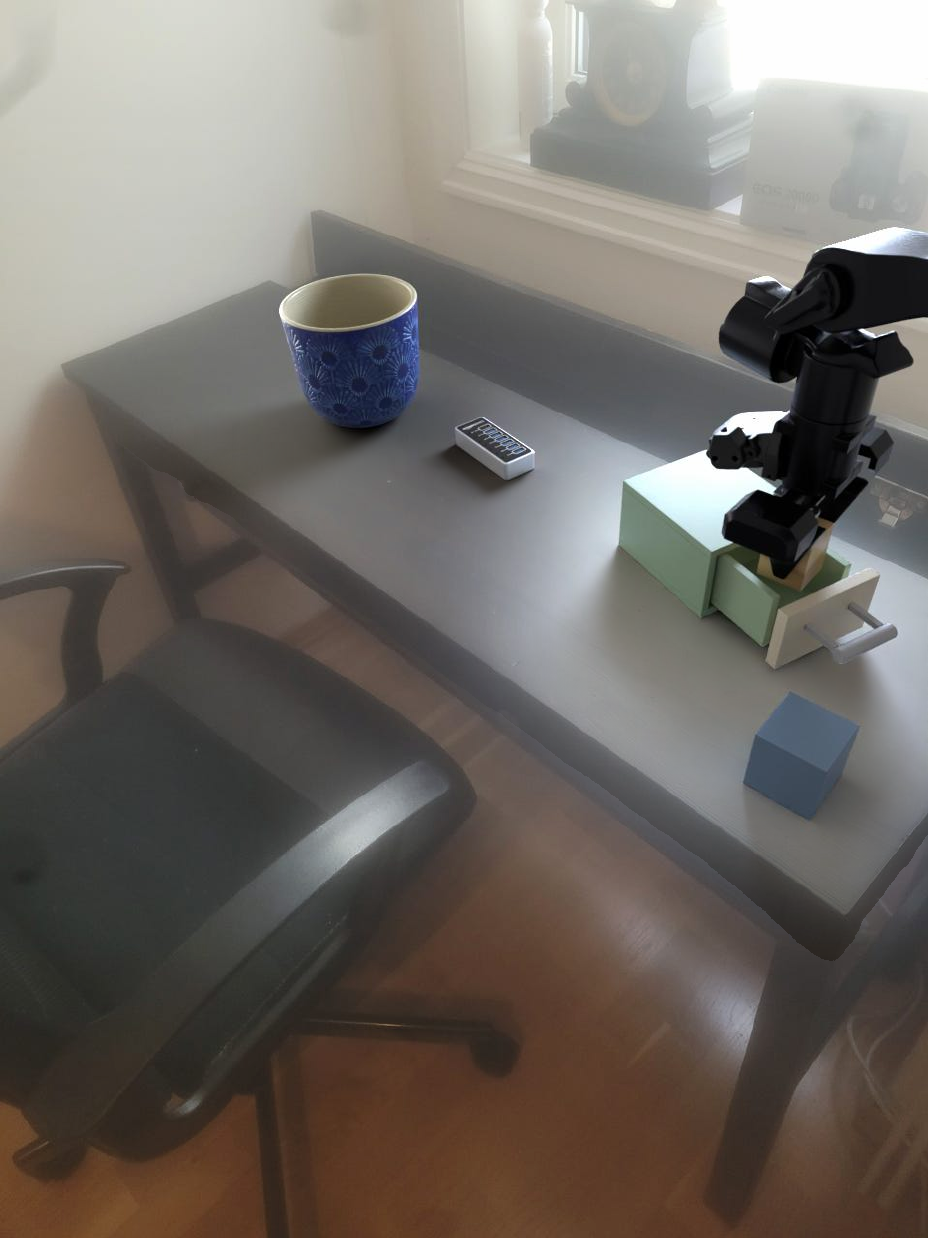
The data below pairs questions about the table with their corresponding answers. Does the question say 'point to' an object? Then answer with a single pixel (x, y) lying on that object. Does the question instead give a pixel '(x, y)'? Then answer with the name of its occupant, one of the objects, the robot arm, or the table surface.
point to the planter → (355, 346)
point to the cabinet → (683, 523)
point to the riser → (800, 754)
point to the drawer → (799, 607)
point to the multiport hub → (494, 448)
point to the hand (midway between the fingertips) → (791, 563)
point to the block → (801, 562)
